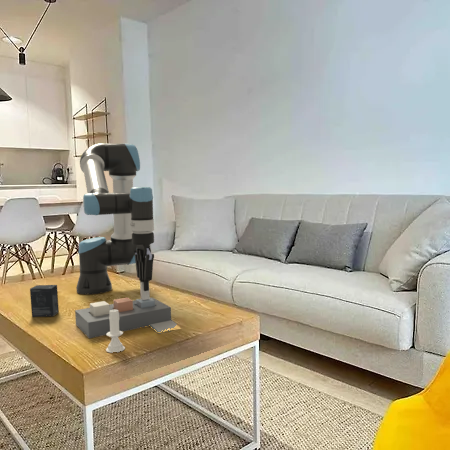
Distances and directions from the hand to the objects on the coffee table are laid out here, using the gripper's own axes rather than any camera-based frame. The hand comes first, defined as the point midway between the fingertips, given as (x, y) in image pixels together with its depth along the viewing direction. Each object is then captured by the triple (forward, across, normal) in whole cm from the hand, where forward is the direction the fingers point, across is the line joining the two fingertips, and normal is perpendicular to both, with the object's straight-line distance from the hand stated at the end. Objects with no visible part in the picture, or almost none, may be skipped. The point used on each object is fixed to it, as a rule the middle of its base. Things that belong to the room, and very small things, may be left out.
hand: (145, 299), depth 153 cm
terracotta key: (+3, 0, -8) cm, 9 cm away
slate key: (+4, 0, 0) cm, 4 cm away
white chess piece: (+7, +22, -18) cm, 29 cm away
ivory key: (+3, 0, -16) cm, 16 cm away
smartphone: (+8, +9, +2) cm, 12 cm away
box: (+7, -26, -28) cm, 39 cm away
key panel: (+7, 0, -8) cm, 11 cm away
